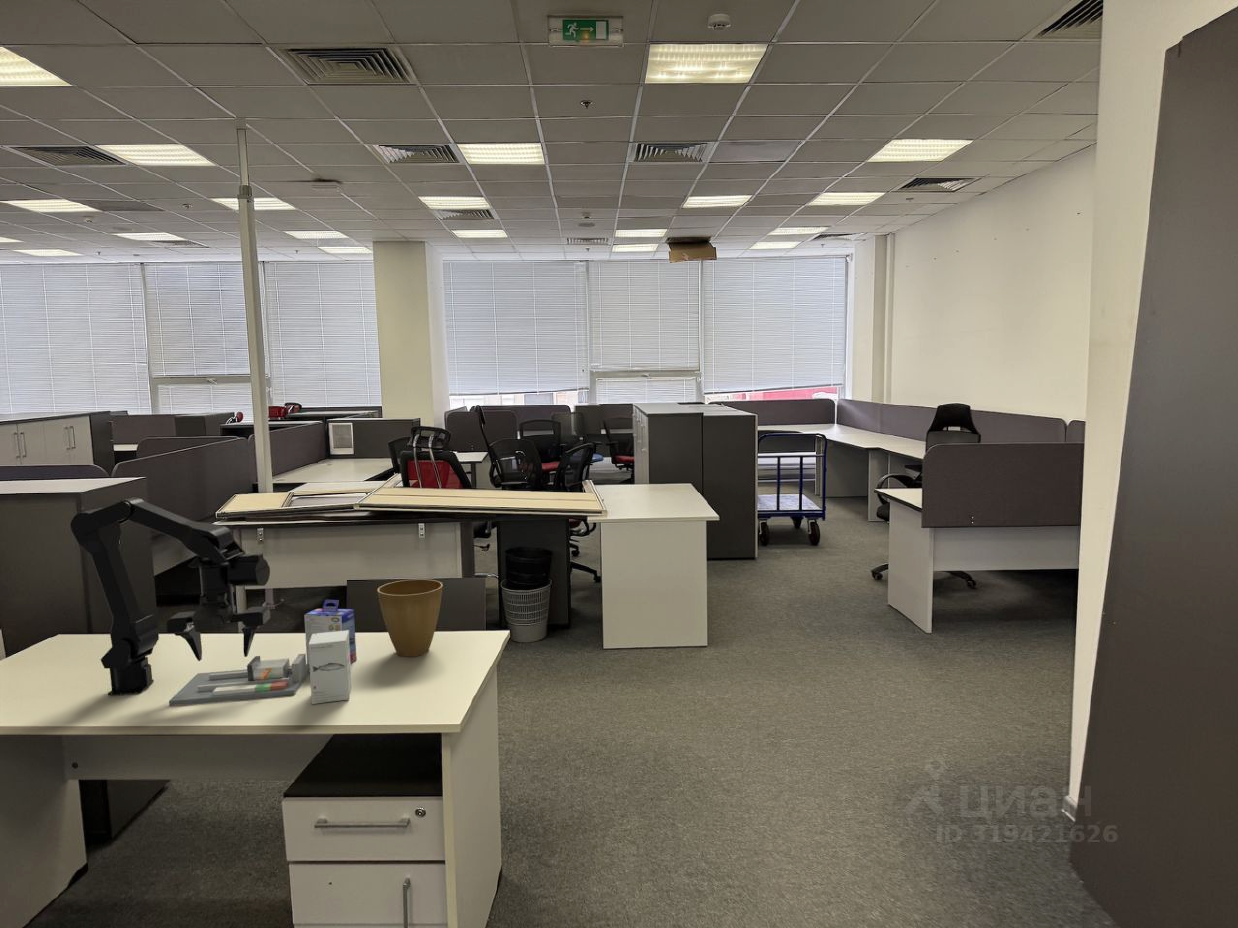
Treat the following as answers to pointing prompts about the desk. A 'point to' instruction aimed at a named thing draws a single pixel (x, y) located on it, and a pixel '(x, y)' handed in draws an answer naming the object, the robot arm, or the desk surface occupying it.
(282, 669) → the grey block
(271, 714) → the desk surface
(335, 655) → the supplement box
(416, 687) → the desk surface
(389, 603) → the plant pot
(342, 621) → the ink cartridge box
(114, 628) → the robot arm
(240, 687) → the board
